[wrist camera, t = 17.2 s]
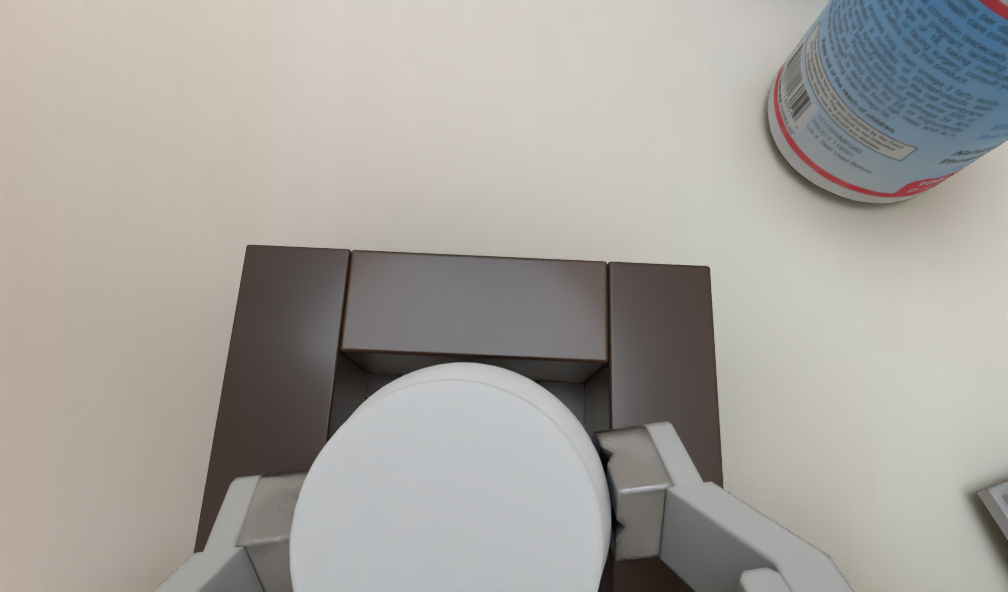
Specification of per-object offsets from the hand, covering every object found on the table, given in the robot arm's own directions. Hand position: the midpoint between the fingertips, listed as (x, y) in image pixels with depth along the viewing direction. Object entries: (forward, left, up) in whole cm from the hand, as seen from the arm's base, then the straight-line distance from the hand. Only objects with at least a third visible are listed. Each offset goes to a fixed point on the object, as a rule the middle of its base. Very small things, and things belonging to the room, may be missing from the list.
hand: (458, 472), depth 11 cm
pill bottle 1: (0, -1, -5) cm, 5 cm away
